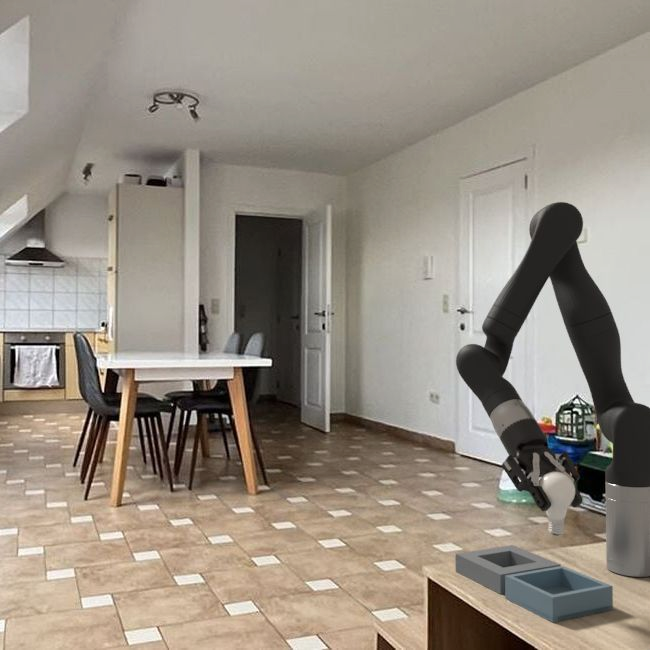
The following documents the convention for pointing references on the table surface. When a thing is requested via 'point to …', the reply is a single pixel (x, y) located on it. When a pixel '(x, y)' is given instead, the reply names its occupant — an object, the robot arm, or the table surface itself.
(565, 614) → the parts tray
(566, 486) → the lightbulb
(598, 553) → the table surface
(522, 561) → the socket block
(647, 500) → the robot arm
